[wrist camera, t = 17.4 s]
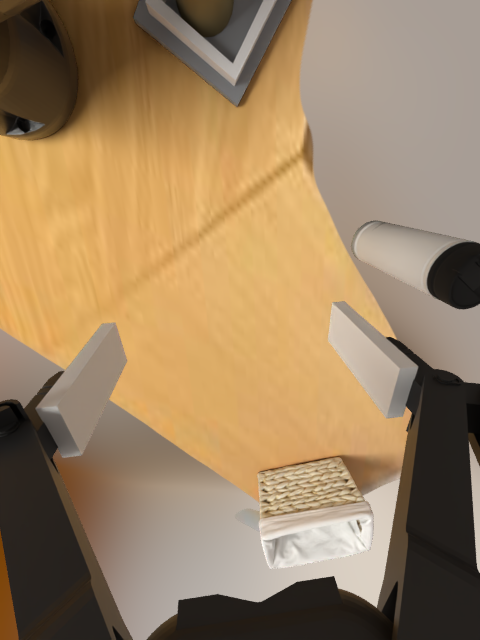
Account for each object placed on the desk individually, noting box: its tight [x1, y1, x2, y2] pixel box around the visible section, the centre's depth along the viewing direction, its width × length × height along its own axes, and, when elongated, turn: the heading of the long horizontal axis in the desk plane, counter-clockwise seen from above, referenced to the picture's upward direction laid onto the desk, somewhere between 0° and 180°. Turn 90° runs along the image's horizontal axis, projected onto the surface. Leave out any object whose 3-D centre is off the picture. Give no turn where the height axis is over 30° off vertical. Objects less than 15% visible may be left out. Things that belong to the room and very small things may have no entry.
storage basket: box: [257, 457, 374, 569], centre depth 63 cm, size 24×16×15 cm
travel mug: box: [351, 221, 480, 309], centre depth 33 cm, size 6×7×20 cm
